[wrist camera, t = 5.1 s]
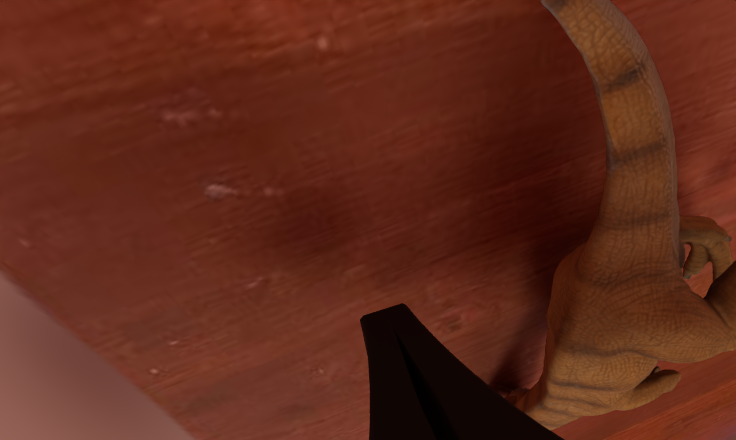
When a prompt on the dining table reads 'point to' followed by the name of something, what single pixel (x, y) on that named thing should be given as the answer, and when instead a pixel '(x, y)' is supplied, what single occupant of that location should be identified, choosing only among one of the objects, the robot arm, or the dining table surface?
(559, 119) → the dining table surface
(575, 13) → the dinosaur figurine
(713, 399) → the dining table surface
